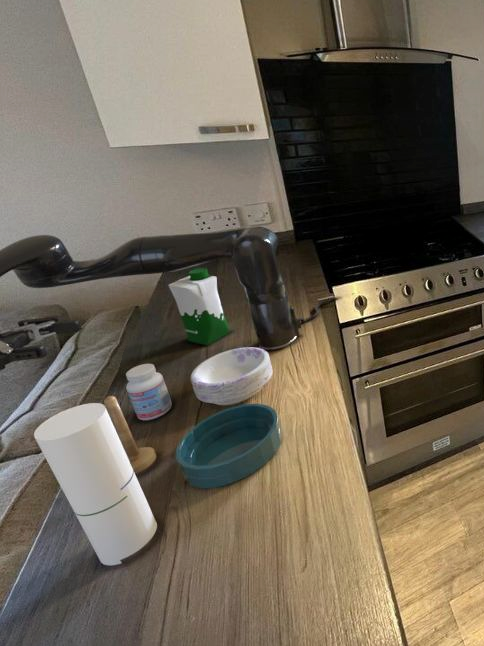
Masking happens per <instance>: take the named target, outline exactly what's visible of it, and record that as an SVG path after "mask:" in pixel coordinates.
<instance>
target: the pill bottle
mask: <svg viewBox="0 0 484 646" xmlns="http://www.w3.org/2000/svg"><path fill="white" fill-rule="evenodd" d="M156 370H157V368H156V367H155V364H153V363H143V364H139V365H136V366H134V367H132V368H130V369H129V370H128V371H126V373H125V376H126V380H127V381H128V382H127V384H126V386H125V387H126V388H125V390H126V393H127V395H128V397H129V400H130V402H131V404H132V407H133V409H134V410H133V411H134V412H135V415H136V417H137V419H138V420H142V421H150V420H155V419H158V418H159V417H162V416H164V415H165V414H166V413H168V412H169V411H170V410H171V408H172V407H173V406H172V405H173V402H172V400H171V399H172V398H171V396H170V393H169V391H168V388H167V385H166V383H165V382H166V381H165V379H164V377H163V375H162V374H161V373H160V372H157V371H156Z"/></svg>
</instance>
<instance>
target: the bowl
mask: <svg viewBox="0 0 484 646" xmlns="http://www.w3.org/2000/svg"><path fill="white" fill-rule="evenodd" d="M276 411H277V410H276V409H274V408H272V407H271V406H269V405H267V404H262V403H244V404H240V405H236V406H231V407H228V408H226V409H223V410H221V411H217V412H216V413H214V414H212V415H210V416H208V417H207V418H205V419H203V420H201V421H200V422H198V423H197V424H196V425H194V426H193V427H192V428H190V429H189V430H188V431H187V432H186V434H185V435H184V436H183V437H182V438H181V439H180V441H179V442H178V444H177V447H176V448H175V451H174V452H175V459H176V464H177V465H178V468H179V471H180V473H181V476H182V478H183V480H184V482H186V483H187V484H188V485H189V486H191V487H196V488H199V489H212V488H219V487H224V486H227V485H230V484H233V483H236V482H238V481H241V480H242V479H244V478H246V477H247V478H248V477H249V476H251V475H253V473H255V472H256V471H258V470H259V469H261V468H262V467H264V466H265V465H266V464H267V463H268V462H269V461H270V460H271V459H272V458H273V457H274V456H275V455H276V454H277V452H278V450H279V448H280V447H281V445H282V441H283V431H282V427H281V424H280V420H279V419H280V418H279V416H278V413H277V412H276Z"/></svg>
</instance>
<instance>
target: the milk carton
mask: <svg viewBox="0 0 484 646" xmlns="http://www.w3.org/2000/svg"><path fill="white" fill-rule="evenodd" d="M217 279H218V278H217V276H214V275H211V274H209V271H208V269H207V268H206V267H196V268H194V269H191V270H190V271H189V272H188V276H185V277H184V278H180V279H178V280H176V281H174V282H172V283H169V284H167V286H168V288H169V290H170V292H171V294H172V296H173V298H174V300H175V303H176V306H177V308H178V309H177V310H178V312H179V315H180V317H181V321H182V323H183V327H184V330H185V333H186V336H187V341H188V342H192V343H195V344H200V345H204V346H208V345H210V344H212V343H214V342H216V341H217V340H219V339H221V338H222V337H224V336H226V335H228V334H229V333H231V329H230V328H229V325H228V322H227V319H226V316H225V312H224V309H223V306H222V302H221V299H220V296H219V292H218V283H217V281H218V280H217Z"/></svg>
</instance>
